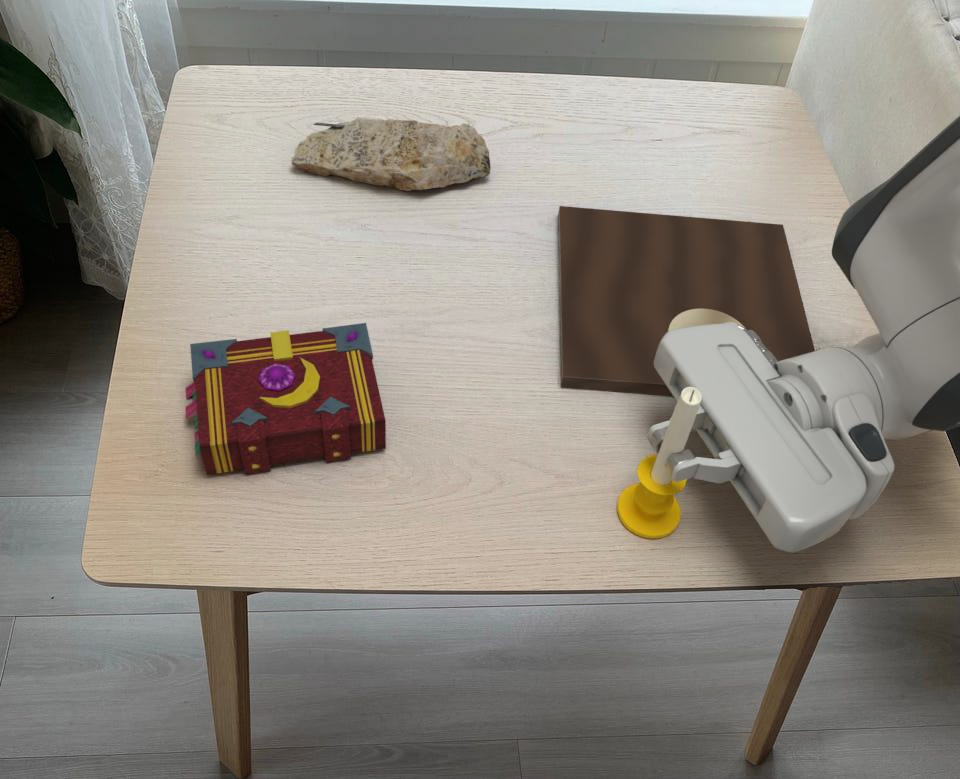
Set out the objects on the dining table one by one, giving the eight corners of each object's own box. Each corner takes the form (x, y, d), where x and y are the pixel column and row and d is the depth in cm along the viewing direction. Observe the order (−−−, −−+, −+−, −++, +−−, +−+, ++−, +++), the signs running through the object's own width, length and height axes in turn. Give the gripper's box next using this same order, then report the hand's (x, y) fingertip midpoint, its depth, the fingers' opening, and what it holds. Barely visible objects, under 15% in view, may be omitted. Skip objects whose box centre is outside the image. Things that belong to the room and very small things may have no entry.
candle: (683, 540, 77) (736, 420, 65) (619, 538, 76) (661, 417, 64) (675, 487, 80) (724, 363, 68) (613, 484, 80) (652, 360, 68)
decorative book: (388, 454, 80) (388, 417, 76) (191, 484, 77) (180, 447, 73) (366, 355, 87) (365, 317, 83) (184, 379, 84) (175, 340, 80)
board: (778, 235, 102) (783, 222, 101) (821, 407, 87) (827, 396, 86) (557, 216, 102) (559, 204, 100) (560, 387, 86) (563, 375, 85)
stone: (498, 119, 104) (479, 142, 96) (495, 178, 107) (477, 204, 99) (317, 104, 108) (283, 124, 99) (320, 161, 111) (287, 185, 102)
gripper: (754, 293, 79) (607, 329, 75) (909, 486, 67) (744, 542, 63) (733, 344, 84) (593, 381, 80) (874, 533, 72) (719, 588, 68)
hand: (661, 454), depth 71 cm, fingers closed
